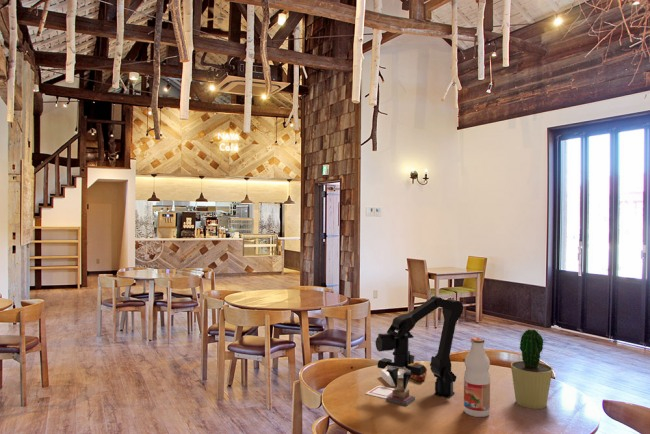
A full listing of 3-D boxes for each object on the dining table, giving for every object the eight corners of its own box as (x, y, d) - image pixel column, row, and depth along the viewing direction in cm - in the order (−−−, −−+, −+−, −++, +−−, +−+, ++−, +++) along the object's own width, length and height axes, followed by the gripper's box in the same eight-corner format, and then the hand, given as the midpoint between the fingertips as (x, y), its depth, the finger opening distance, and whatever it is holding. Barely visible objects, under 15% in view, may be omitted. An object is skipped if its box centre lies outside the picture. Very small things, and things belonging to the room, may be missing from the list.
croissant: (403, 376, 243) (396, 361, 242) (421, 366, 244) (414, 351, 243) (416, 390, 222) (408, 374, 221) (435, 379, 223) (427, 363, 222)
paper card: (399, 390, 212) (399, 389, 212) (387, 399, 202) (387, 398, 202) (378, 386, 218) (378, 385, 218) (365, 394, 208) (365, 393, 208)
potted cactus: (527, 412, 190) (528, 333, 190) (502, 398, 205) (503, 324, 204) (561, 408, 194) (562, 331, 194) (534, 395, 209) (535, 323, 209)
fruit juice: (494, 417, 185) (494, 341, 185) (469, 418, 184) (470, 342, 184) (483, 407, 194) (484, 335, 194) (460, 408, 193) (460, 335, 193)
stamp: (409, 396, 202) (409, 378, 202) (403, 399, 198) (404, 382, 198) (397, 393, 205) (398, 376, 205) (392, 397, 200) (392, 379, 200)
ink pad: (415, 399, 202) (415, 395, 202) (406, 405, 195) (406, 402, 195) (394, 395, 207) (394, 391, 207) (386, 400, 200) (386, 397, 200)
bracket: (406, 385, 219) (406, 368, 219) (391, 386, 218) (391, 369, 218) (395, 376, 232) (395, 360, 232) (380, 377, 230) (381, 360, 230)
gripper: (430, 348, 203) (430, 386, 203) (389, 341, 213) (388, 378, 213) (420, 354, 193) (419, 395, 193) (377, 347, 204) (376, 385, 204)
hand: (400, 387), depth 201 cm, fingers closed on stamp, 3 cm apart
